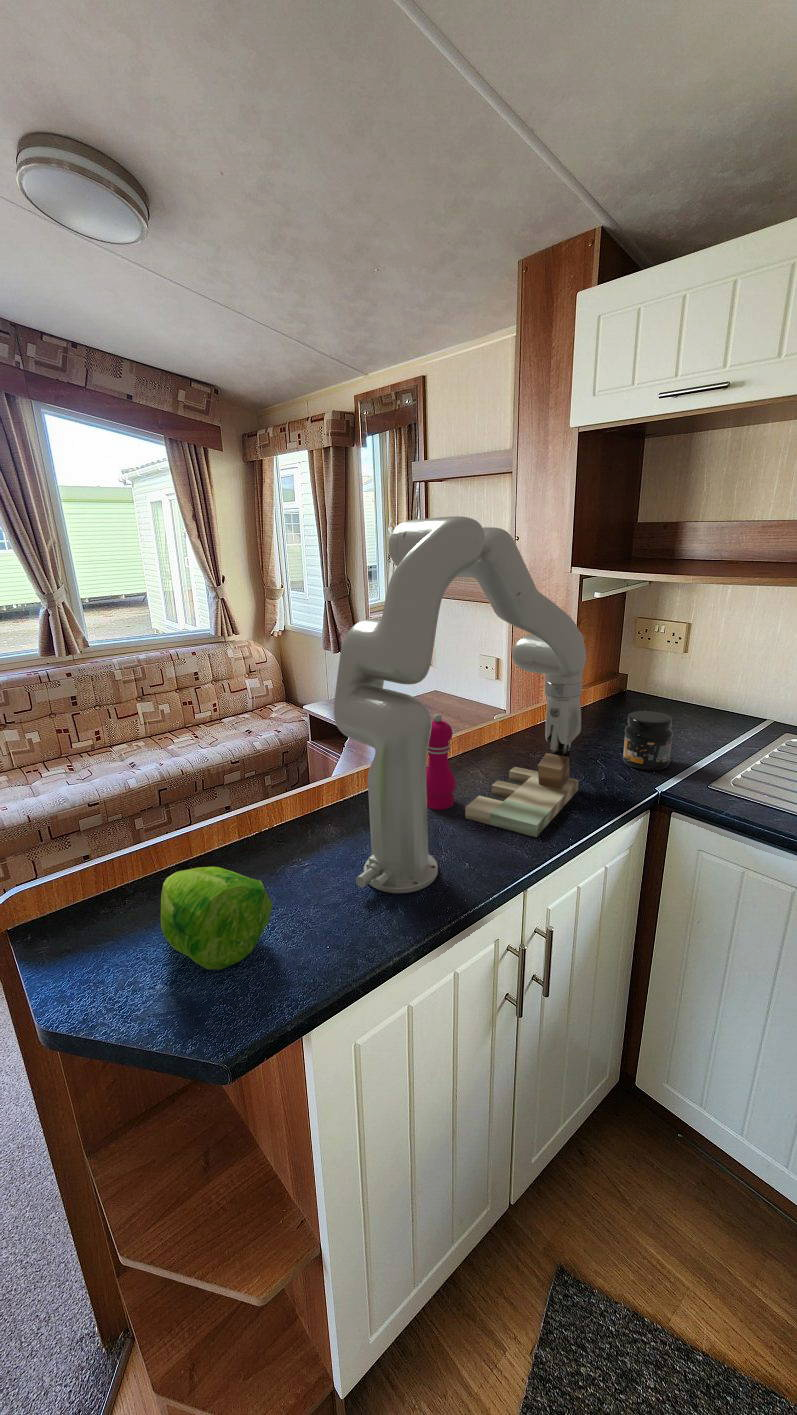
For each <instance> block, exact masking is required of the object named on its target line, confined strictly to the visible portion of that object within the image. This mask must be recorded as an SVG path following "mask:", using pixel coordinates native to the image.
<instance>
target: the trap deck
mask: <svg viewBox="0 0 797 1415" xmlns="http://www.w3.org/2000/svg"><path fill="white" fill-rule="evenodd" d="M578 791H579V779H575V778H571V777H569V778H568V780H567V781H566V783H565V785H564V786H563V788H562V789H557V788H553V787H548V786H544V785H539V779H538V770H532V769H528V768H522V767H518V766H514V767H512V768H511V769H510V770H508V779H507V780H506V781H503V780H496V781H495V782H494V783H492V785H491V794H489V795H488V796H483V795H478V796H477V797H476V798H474V799H473V800H471V802H469V803H468V804H467V805H466V806H465V807H464V808H465V809H464V810H465V811H464V814H465V819H468V820H472V821H476V822H479V823H483V824H486V825H490V826H494V827H497V828H500V829H501V828H502V829H504V830H508V831H513V832H515V833H519V834H523V835H525V836H530V837H534V838H537V837H538V836H539V835H540V834H541V833H542V832H543V831H544V829H545V828H546V827H547V826H548V825H549V824H550V823H551V821H552V820H553V819H554V818H555V817H556V816H557V815H558V814H559V812H560V811H561V810H562V809H563V808H564V806H566V805H567V803H569V801H570V800H571V799H572V798H573V796H574V795H575V794H576V793H577V792H578Z"/></svg>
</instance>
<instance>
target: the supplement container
mask: <svg viewBox="0 0 797 1415" xmlns="http://www.w3.org/2000/svg"><path fill="white" fill-rule="evenodd" d="M672 723H673V719H672V717H671V716H670V715H668V714H665V713H662V712H657V711H648V710H647V711H645V710H640V711H633V712H631V713H629V714H628V715H627V725H626V726H625V727H624V743H623V753H622V754H623V755H622V759H623V762H624V763H625V764H626V765H627V766H629V767H631V768H634V769H636V770H641V771H649V772H654V771H655V772H656V771H661V770H664V769H666V768H667V767H668V766H669V765H670V763H671V762H670V761H671V760H670V757H671V749H672V740H673V737H674V736H673V735H674V732H673V730H672V729H671V727H672Z"/></svg>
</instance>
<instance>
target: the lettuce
mask: <svg viewBox="0 0 797 1415" xmlns="http://www.w3.org/2000/svg"><path fill="white" fill-rule="evenodd" d="M273 904H274V903H273V901H272V900H271V898H270V897H269V895H268V893H267V891H266V889H265V887H264V884H263V882H262V880H259V879H255V878H251V877H248V876H246V875H242V874H241V873H238V872H235V871H232V870H228V869H225V868H223V867H220V866H203V867H194V868H190V869H184V870H179V871H175V872H174V873H172V874H171V875H169V876H167V877H166V878H165V880H164V882H163V884H162V890H161V897H160V927H161V929H160V930H161V932H162V933H163V935H164V938H165V940H166V941H167V942H168V943H169V945H170V946H171V947H172V948H173V949H174V950H176V951H178V952H179V953H181V954H182V955H185V956H187V957H188V958H190V959H191V960H192V961H193V962H194V963H196V964H197V965H199V966H201V967H203V968H204V969H206V970H220V971H221V970H223V969H225V968H227V967H230V966H233V965H235V964H237V963H239V962H241V961H242V960H243V959H244V958H246V957H247V956H248V955H249V954H251V953H252V951H253V950H254V949H255V947H256V946H257V944H258V943H259V939H260V937H261V936H262V934H263V932H264V930H265V929H266V928H267V926H268V924H269V922H270V917H271V914H272V908H273Z"/></svg>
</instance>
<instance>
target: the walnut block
mask: <svg viewBox="0 0 797 1415" xmlns="http://www.w3.org/2000/svg"><path fill="white" fill-rule="evenodd" d="M537 771H538V779H539V785H544V786H548V787H553V788H557V789H562V788H563V786H564V785H565V783H566V781H567V780H568V778H571V777H570V764H569V757H565V756H560V755H555V754H553V753H548V752H546V753H545V754H544V756H542V758H541V760H540V761H539V762H538V764H537Z"/></svg>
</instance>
